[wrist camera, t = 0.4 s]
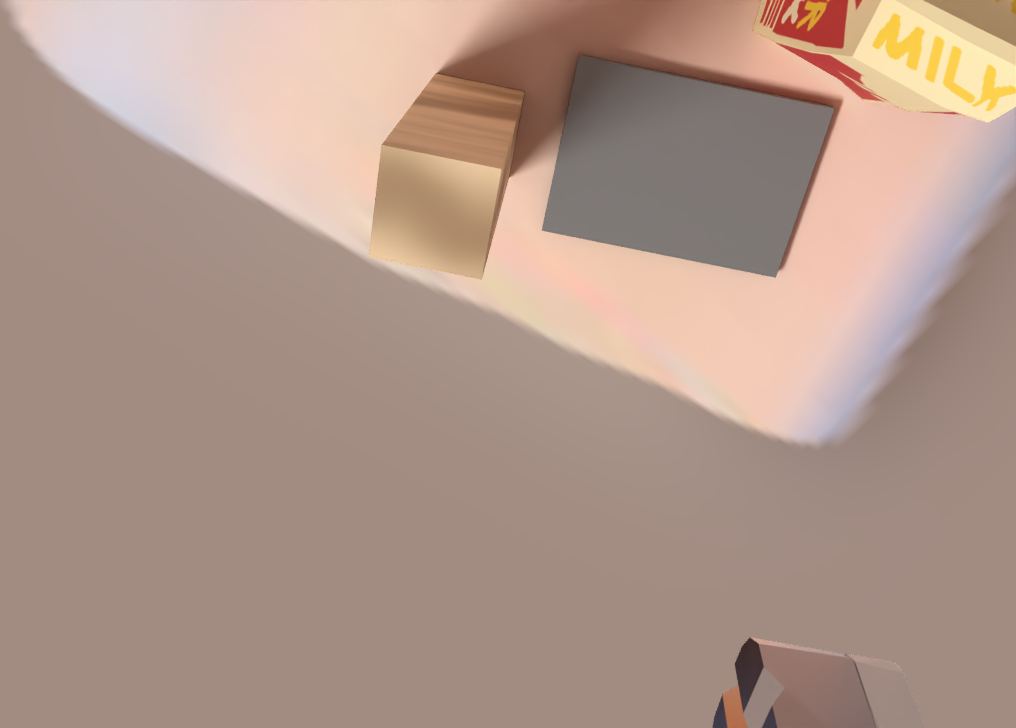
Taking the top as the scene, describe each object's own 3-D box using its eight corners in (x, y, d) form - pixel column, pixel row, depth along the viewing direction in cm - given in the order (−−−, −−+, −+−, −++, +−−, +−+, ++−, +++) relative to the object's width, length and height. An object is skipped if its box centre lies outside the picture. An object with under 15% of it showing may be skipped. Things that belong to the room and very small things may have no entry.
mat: (579, 54, 50) (578, 56, 49) (832, 106, 50) (834, 108, 50) (542, 227, 55) (542, 230, 54) (773, 273, 55) (775, 277, 54)
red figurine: (993, -57, 46) (1242, -10, 28) (869, 106, 50) (1019, 234, 32) (845, -161, 44) (1012, -180, 27) (730, 15, 48) (809, 99, 31)
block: (434, 73, 51) (379, 144, 38) (525, 91, 51) (501, 169, 38) (422, 160, 53) (366, 256, 40) (508, 178, 53) (481, 279, 40)
